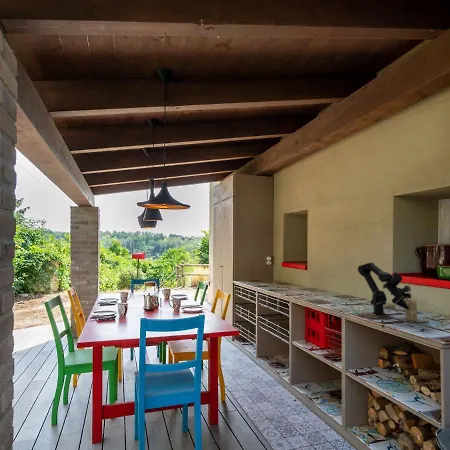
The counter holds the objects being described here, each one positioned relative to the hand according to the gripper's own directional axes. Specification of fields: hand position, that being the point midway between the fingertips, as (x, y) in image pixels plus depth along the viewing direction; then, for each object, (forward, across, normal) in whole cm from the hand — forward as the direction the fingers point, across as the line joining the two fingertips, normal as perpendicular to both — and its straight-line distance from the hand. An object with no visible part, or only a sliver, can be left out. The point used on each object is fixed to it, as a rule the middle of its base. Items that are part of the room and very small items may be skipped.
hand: (411, 308), depth 232 cm
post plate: (+5, 0, +6) cm, 8 cm away
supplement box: (-8, +32, +19) cm, 38 cm away
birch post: (+5, 0, +5) cm, 7 cm away
